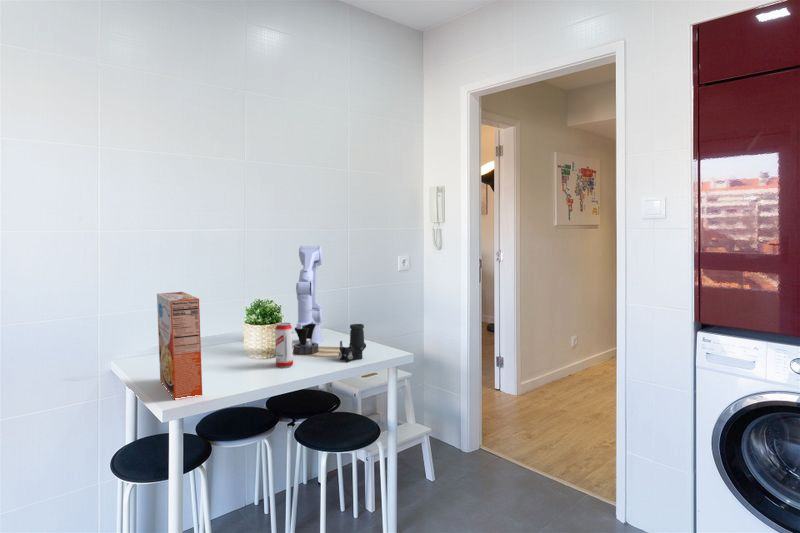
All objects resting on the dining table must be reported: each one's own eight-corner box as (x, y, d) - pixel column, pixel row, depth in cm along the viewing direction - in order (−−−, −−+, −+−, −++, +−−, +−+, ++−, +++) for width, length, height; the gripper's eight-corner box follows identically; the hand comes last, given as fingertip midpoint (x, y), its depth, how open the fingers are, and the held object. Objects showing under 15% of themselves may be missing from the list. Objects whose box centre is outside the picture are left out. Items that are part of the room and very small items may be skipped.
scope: (337, 325, 195) (359, 322, 201) (338, 360, 196) (359, 356, 202) (349, 328, 189) (370, 325, 195) (349, 364, 190) (371, 360, 196)
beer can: (287, 363, 192) (286, 321, 191) (296, 366, 188) (295, 323, 187) (272, 366, 188) (271, 323, 187) (281, 369, 184) (280, 326, 183)
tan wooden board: (301, 347, 219) (301, 345, 219) (354, 348, 215) (354, 347, 215) (285, 357, 202) (285, 355, 202) (343, 359, 198) (343, 357, 198)
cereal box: (160, 382, 169) (156, 293, 167) (185, 377, 173) (182, 291, 171) (174, 400, 150) (170, 301, 148) (202, 395, 155) (199, 298, 153)
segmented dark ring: (298, 348, 213) (298, 341, 213) (321, 349, 212) (321, 342, 211) (289, 354, 203) (289, 347, 203) (313, 355, 202) (313, 348, 202)
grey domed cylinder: (302, 350, 210) (302, 337, 210) (313, 350, 210) (313, 338, 209) (298, 353, 205) (298, 340, 205) (310, 353, 205) (309, 341, 204)
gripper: (308, 313, 199) (308, 347, 199) (320, 307, 213) (320, 339, 214) (291, 313, 200) (292, 346, 201) (304, 307, 214) (304, 339, 215)
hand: (305, 342), depth 207 cm, fingers open, 6 cm apart
